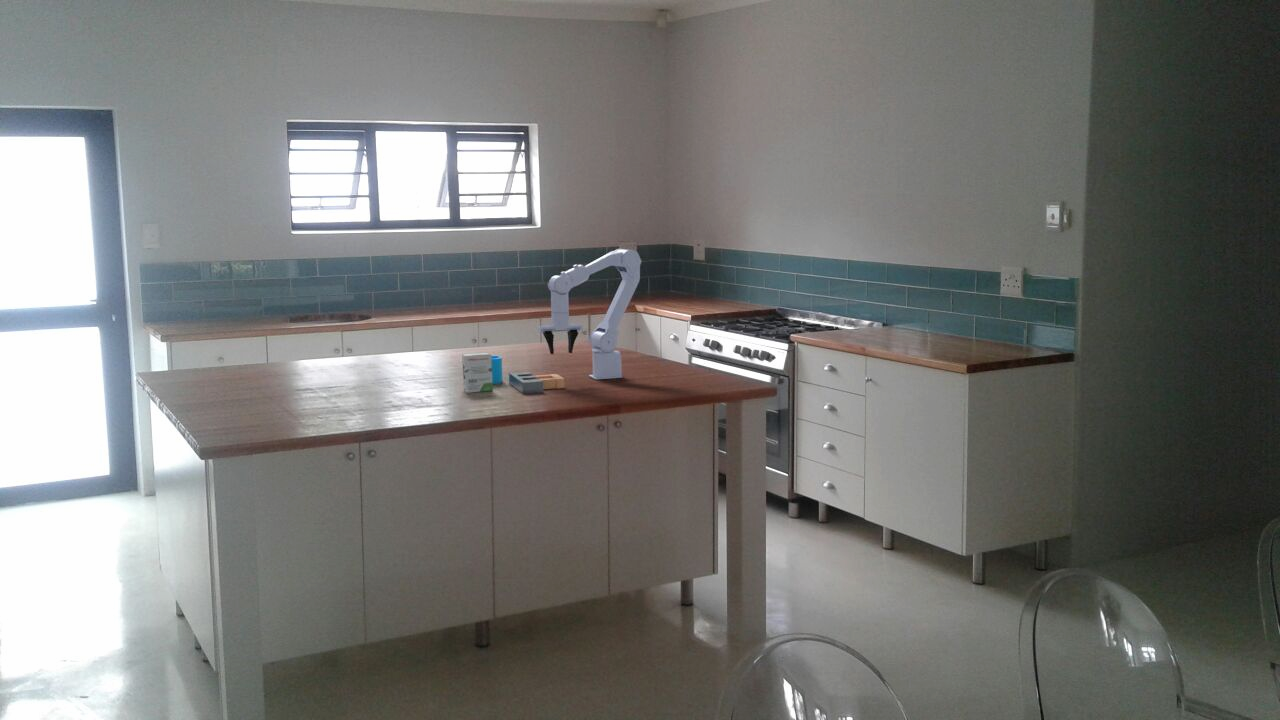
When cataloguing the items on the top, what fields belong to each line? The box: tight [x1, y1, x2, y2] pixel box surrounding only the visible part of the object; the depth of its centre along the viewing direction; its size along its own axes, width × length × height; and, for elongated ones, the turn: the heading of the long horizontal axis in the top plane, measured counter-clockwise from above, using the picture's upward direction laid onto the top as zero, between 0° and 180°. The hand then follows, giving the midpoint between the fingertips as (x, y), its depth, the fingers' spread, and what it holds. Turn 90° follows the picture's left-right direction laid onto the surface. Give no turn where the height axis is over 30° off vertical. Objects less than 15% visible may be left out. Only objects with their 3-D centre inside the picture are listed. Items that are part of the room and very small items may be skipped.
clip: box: [535, 373, 566, 390], centre depth 365 cm, size 8×10×3 cm
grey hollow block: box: [508, 371, 544, 395], centre depth 362 cm, size 6×20×4 cm, turn 19°
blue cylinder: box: [491, 355, 503, 385], centre depth 376 cm, size 12×8×8 cm
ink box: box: [461, 352, 494, 394], centre depth 358 cm, size 9×5×12 cm, turn 111°
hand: (561, 353), depth 372 cm, fingers open, 6 cm apart
